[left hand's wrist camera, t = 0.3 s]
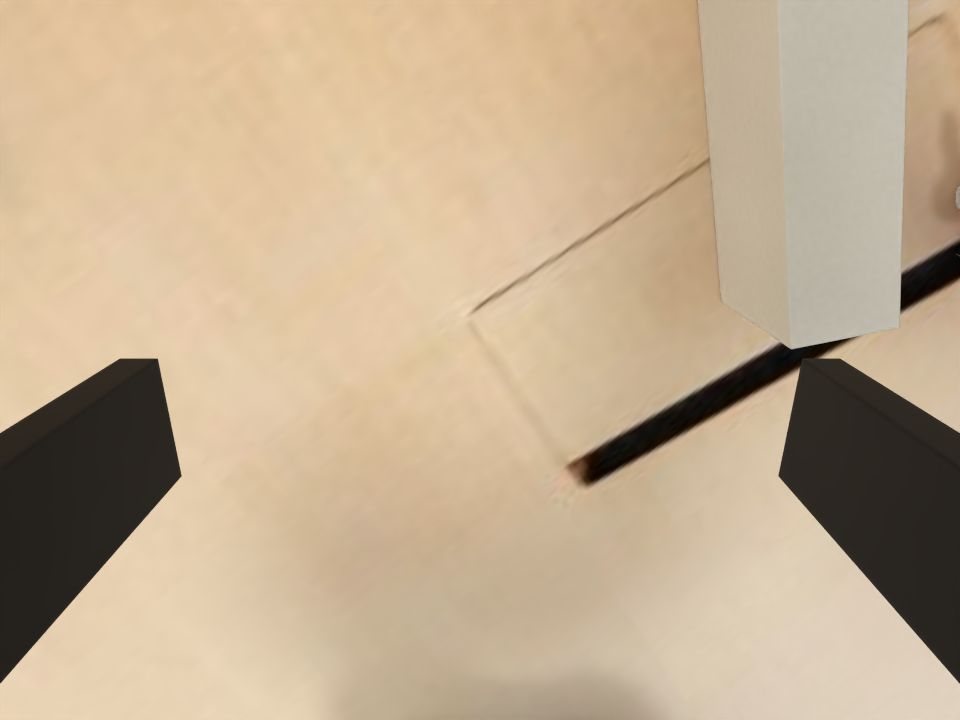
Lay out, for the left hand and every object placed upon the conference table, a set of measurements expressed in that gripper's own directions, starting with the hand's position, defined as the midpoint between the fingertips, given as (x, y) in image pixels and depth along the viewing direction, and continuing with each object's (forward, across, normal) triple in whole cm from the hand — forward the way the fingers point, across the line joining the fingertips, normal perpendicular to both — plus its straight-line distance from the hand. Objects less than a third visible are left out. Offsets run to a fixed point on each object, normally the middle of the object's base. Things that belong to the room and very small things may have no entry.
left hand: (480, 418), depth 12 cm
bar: (+27, -16, -8) cm, 32 cm away
